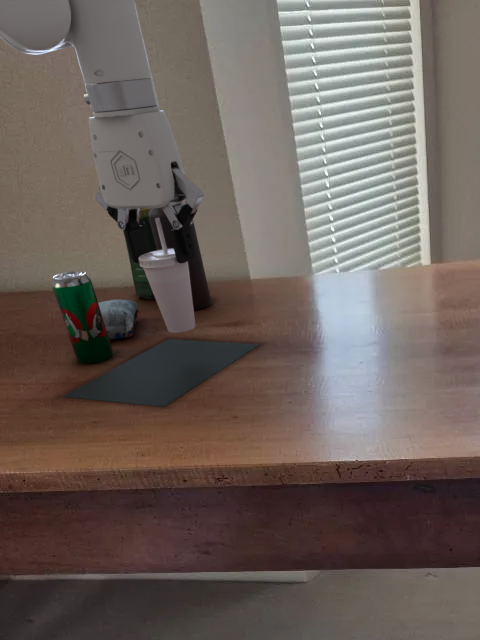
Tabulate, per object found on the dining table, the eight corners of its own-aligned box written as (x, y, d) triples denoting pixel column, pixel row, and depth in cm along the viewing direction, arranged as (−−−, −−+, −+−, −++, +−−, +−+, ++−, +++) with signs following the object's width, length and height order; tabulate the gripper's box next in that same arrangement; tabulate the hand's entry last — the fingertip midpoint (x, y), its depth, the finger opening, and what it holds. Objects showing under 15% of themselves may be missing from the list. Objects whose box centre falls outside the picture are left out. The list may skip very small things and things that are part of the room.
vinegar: (216, 306, 124) (187, 176, 112) (176, 314, 121) (143, 182, 110) (206, 298, 129) (178, 172, 118) (168, 305, 126) (135, 178, 115)
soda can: (113, 352, 107) (87, 268, 101) (116, 362, 103) (89, 275, 97) (77, 359, 106) (49, 274, 99) (79, 370, 102) (49, 282, 95)
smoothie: (182, 337, 96) (153, 224, 88) (147, 333, 99) (116, 223, 91) (215, 322, 100) (190, 213, 93) (180, 319, 103) (154, 212, 96)
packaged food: (78, 351, 109) (67, 318, 106) (88, 328, 119) (79, 298, 116) (138, 343, 110) (129, 310, 108) (143, 321, 120) (135, 290, 117)
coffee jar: (164, 301, 129) (134, 186, 119) (130, 299, 132) (98, 187, 122) (198, 286, 136) (173, 176, 126) (165, 284, 139) (138, 177, 129)
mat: (63, 400, 93) (62, 396, 92) (169, 342, 109) (168, 338, 109) (165, 410, 87) (164, 406, 87) (260, 347, 104) (259, 344, 104)
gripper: (43, 107, 85) (92, 267, 95) (164, 97, 79) (203, 269, 89) (88, 102, 91) (130, 253, 101) (204, 92, 85) (236, 253, 94)
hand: (164, 259), depth 95 cm, fingers closed on smoothie, 6 cm apart
